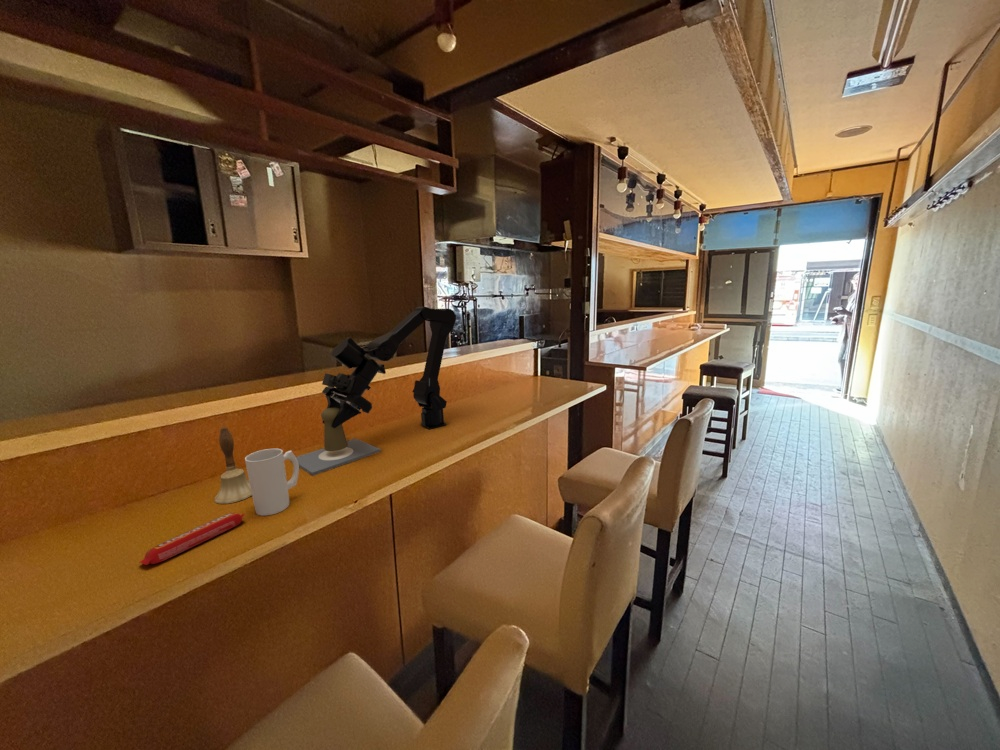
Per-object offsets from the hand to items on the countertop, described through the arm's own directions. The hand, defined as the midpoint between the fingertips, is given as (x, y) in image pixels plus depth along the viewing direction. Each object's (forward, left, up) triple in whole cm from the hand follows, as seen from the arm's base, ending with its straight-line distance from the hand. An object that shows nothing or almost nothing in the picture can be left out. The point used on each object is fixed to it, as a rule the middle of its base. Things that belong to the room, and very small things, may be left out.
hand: (328, 425), depth 108 cm
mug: (+16, +19, -10) cm, 26 cm away
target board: (-1, 0, -9) cm, 9 cm away
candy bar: (+30, +24, -10) cm, 40 cm away
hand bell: (+23, +7, -10) cm, 26 cm away
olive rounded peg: (-1, 0, -7) cm, 7 cm away
